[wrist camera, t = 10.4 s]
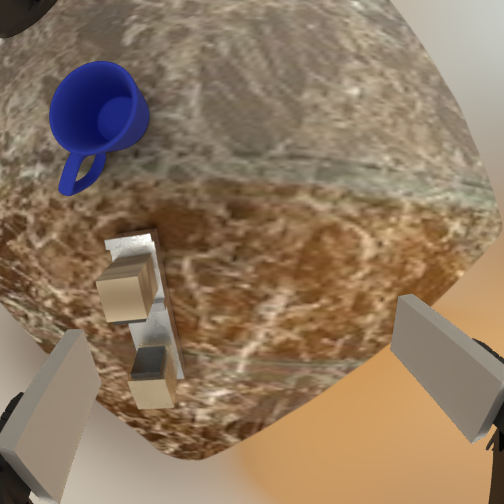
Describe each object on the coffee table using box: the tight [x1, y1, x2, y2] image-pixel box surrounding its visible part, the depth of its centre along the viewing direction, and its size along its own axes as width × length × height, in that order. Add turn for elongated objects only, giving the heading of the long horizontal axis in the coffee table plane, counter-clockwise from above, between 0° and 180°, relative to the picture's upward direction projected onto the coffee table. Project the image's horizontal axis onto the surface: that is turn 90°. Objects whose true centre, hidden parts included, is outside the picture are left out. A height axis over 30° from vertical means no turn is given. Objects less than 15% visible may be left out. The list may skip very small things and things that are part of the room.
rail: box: [105, 228, 185, 409], centre depth 32 cm, size 19×5×10 cm, turn 5°
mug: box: [49, 61, 149, 196], centre depth 26 cm, size 8×12×10 cm
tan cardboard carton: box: [96, 253, 158, 325], centre depth 29 cm, size 5×4×7 cm
